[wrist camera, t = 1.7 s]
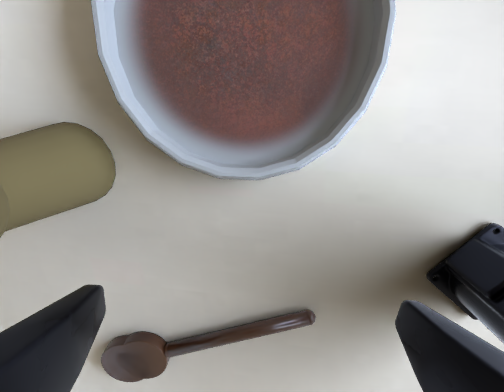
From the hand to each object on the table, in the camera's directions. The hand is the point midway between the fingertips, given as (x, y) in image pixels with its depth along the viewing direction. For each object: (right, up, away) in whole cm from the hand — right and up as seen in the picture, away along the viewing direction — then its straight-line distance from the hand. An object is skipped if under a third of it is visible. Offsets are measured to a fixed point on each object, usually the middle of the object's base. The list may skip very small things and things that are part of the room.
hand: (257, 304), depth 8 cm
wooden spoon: (-4, -10, +16) cm, 20 cm away
